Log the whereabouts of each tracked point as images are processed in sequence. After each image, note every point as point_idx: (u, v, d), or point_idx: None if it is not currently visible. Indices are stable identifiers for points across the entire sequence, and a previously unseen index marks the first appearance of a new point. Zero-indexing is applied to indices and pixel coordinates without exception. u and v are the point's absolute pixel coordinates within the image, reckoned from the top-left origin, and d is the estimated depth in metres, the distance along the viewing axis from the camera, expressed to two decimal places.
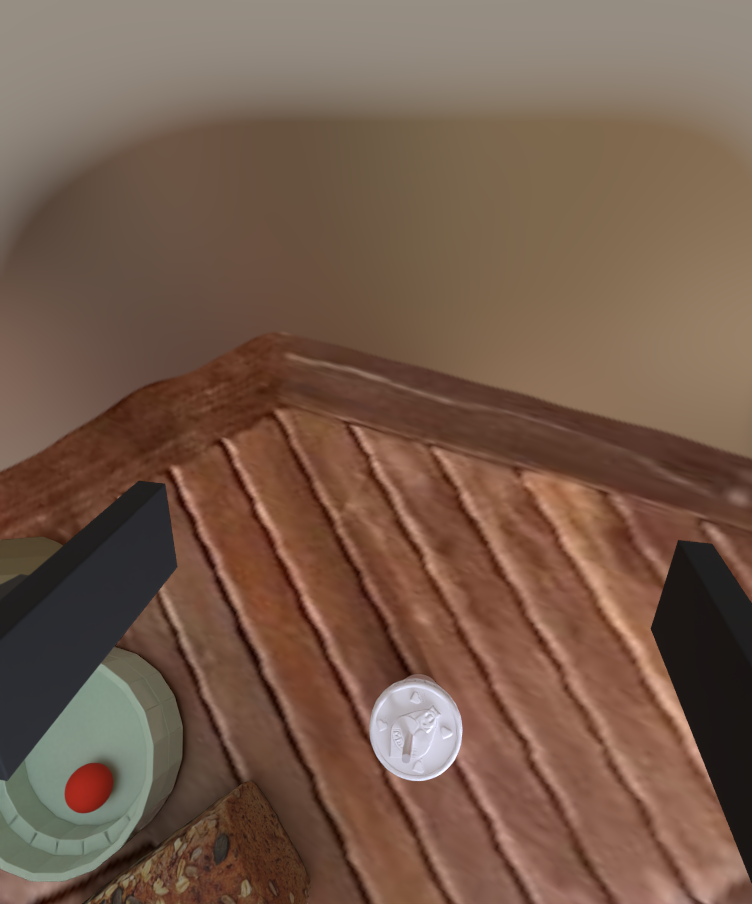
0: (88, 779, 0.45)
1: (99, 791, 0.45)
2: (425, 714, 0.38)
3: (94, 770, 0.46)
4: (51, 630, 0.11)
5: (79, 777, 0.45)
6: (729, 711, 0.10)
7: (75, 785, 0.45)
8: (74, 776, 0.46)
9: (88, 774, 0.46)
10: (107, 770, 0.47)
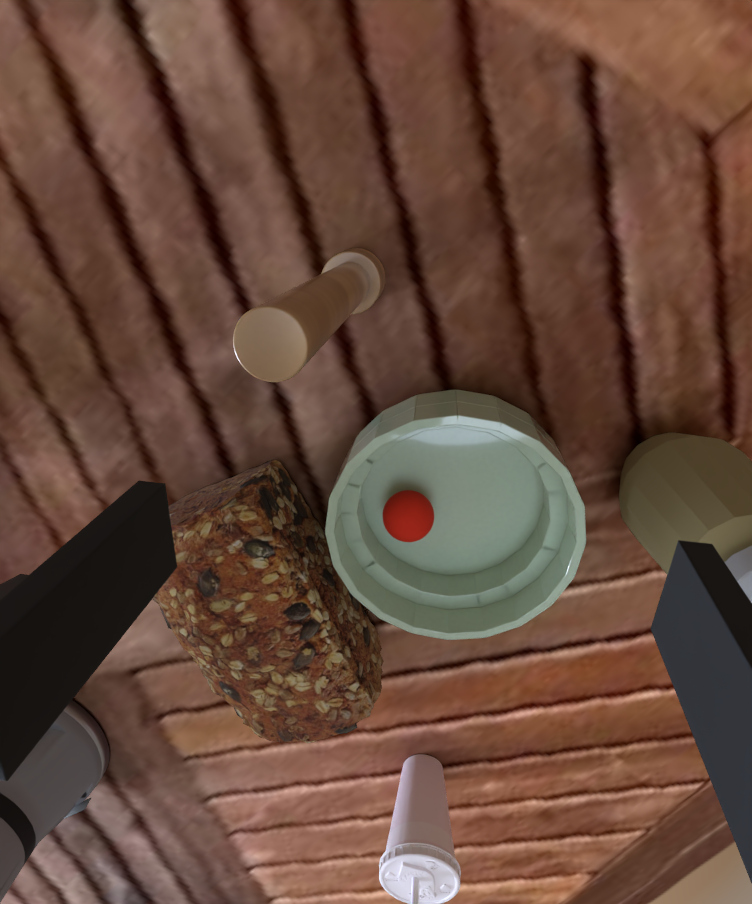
0: (421, 536, 0.38)
1: (404, 541, 0.39)
2: (431, 892, 0.44)
3: (427, 533, 0.39)
4: (51, 630, 0.11)
5: (425, 527, 0.38)
6: (729, 711, 0.10)
7: (418, 527, 0.38)
8: (426, 519, 0.38)
9: (425, 533, 0.38)
10: None
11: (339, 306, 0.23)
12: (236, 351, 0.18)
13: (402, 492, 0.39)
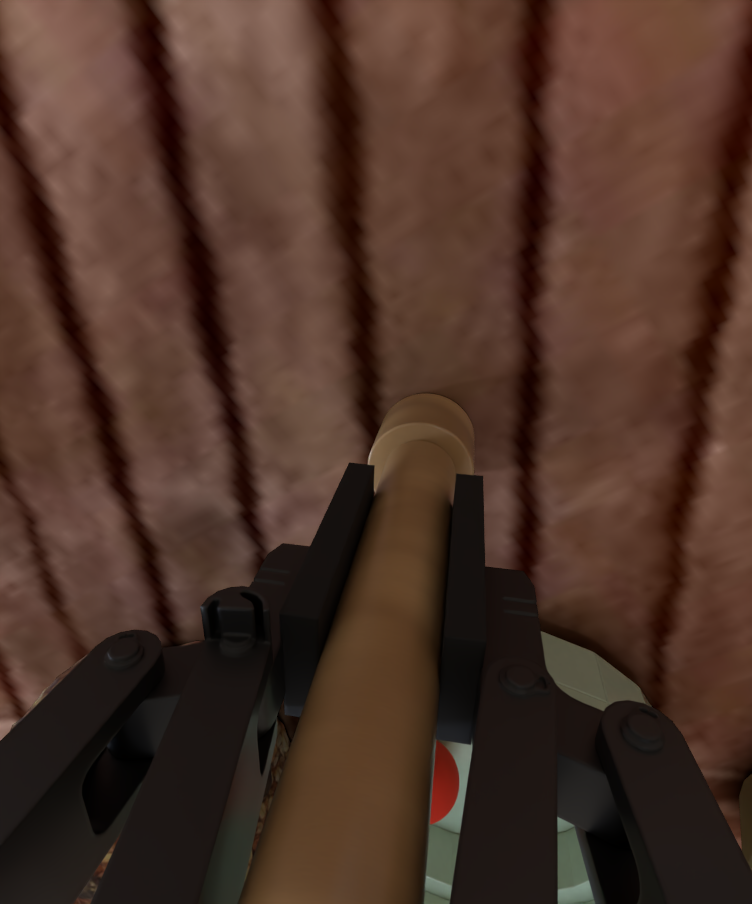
0: (434, 822, 0.25)
1: None
2: None
3: None
4: (339, 590, 0.12)
5: (443, 815, 0.25)
6: None
7: (433, 817, 0.24)
8: (448, 805, 0.25)
9: None
10: None
11: None
12: None
13: None
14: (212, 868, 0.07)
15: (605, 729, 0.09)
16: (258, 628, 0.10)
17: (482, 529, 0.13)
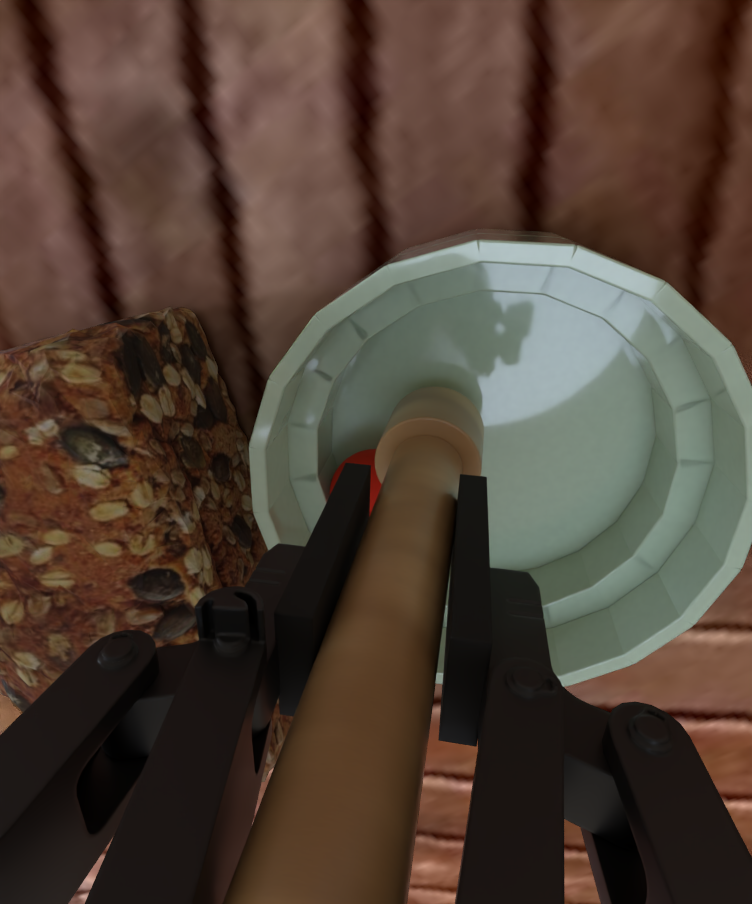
0: None
1: None
2: None
3: None
4: (334, 590, 0.12)
5: None
6: (450, 594, 0.13)
7: None
8: None
9: None
10: None
11: None
12: None
13: None
14: (207, 867, 0.07)
15: (612, 731, 0.09)
16: (253, 627, 0.10)
17: (486, 530, 0.13)
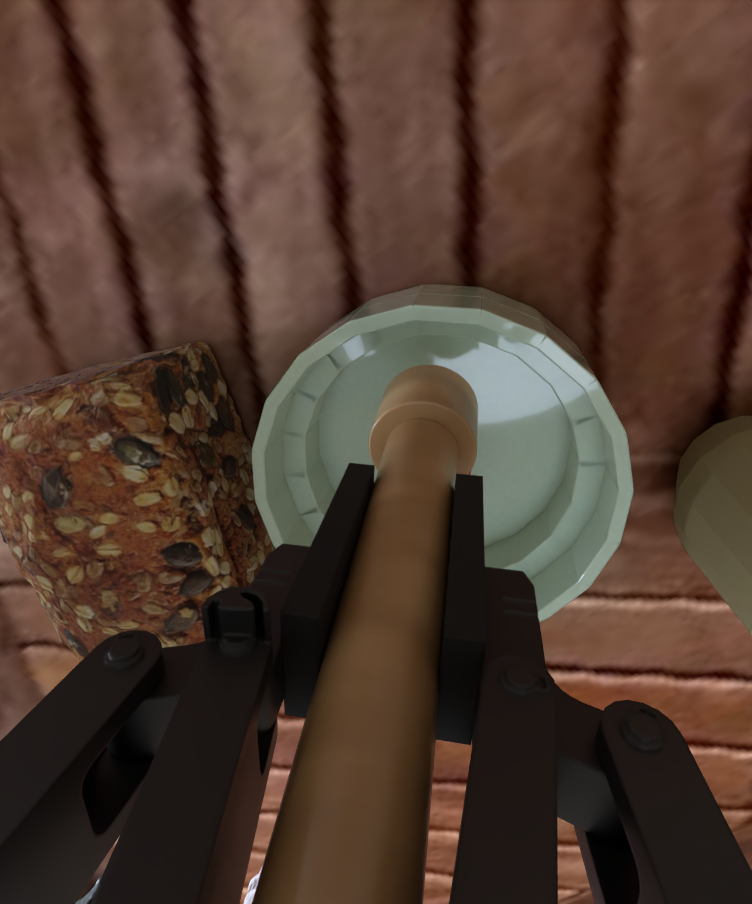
0: None
1: None
2: None
3: None
4: (339, 590, 0.12)
5: None
6: None
7: None
8: None
9: None
10: None
11: None
12: None
13: None
14: (212, 868, 0.07)
15: (605, 729, 0.09)
16: (259, 628, 0.10)
17: (482, 529, 0.13)
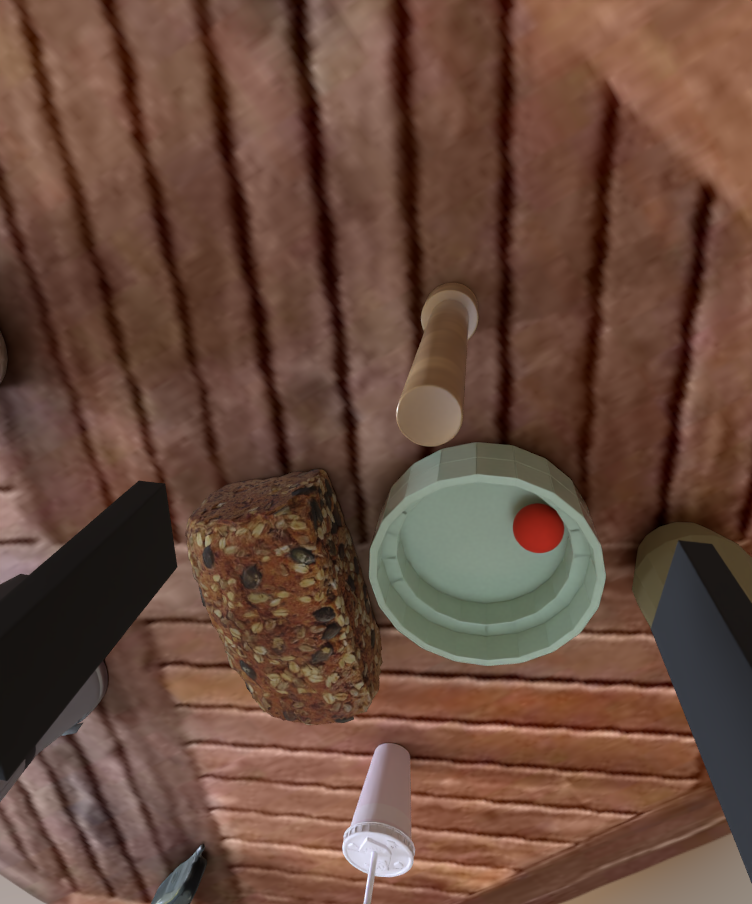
0: None
1: None
2: (385, 866, 0.49)
3: None
4: (51, 630, 0.11)
5: None
6: (729, 711, 0.10)
7: None
8: None
9: None
10: None
11: None
12: (400, 403, 0.20)
13: (525, 535, 0.40)
14: None
15: None
16: None
17: None
